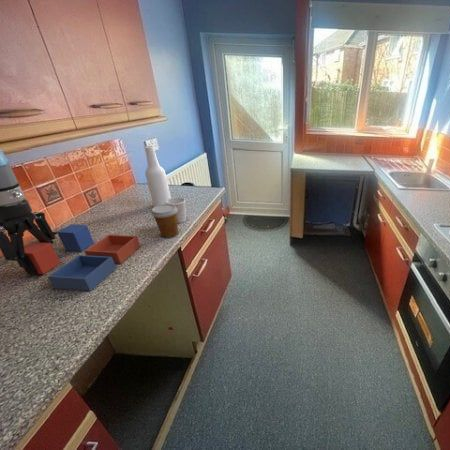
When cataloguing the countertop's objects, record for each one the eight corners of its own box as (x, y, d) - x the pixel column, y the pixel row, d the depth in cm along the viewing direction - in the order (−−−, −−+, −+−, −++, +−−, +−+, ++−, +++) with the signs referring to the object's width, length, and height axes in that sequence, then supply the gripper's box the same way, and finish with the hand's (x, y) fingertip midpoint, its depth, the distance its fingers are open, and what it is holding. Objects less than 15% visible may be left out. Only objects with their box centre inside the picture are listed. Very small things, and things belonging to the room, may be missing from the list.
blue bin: (54, 288, 75) (47, 276, 73) (84, 265, 85) (78, 254, 83) (90, 290, 75) (84, 279, 73) (116, 267, 85) (111, 256, 82)
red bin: (89, 261, 87) (84, 250, 85) (112, 244, 97) (108, 234, 95) (120, 263, 87) (116, 252, 84) (140, 246, 97) (137, 236, 94)
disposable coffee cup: (154, 232, 106) (147, 207, 100) (177, 226, 112) (172, 201, 106) (161, 242, 100) (154, 215, 94) (185, 234, 105) (180, 209, 100)
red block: (25, 272, 79) (12, 252, 76) (43, 261, 85) (32, 241, 81) (43, 274, 79) (32, 253, 75) (60, 262, 85) (50, 243, 81)
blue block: (65, 250, 92) (56, 232, 88) (79, 242, 97) (71, 224, 94) (81, 251, 92) (73, 233, 88) (94, 243, 97) (86, 225, 93)
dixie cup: (193, 218, 119) (189, 199, 114) (178, 225, 112) (173, 205, 107) (180, 214, 122) (176, 195, 117) (165, 221, 115) (160, 201, 110)
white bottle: (152, 204, 132) (137, 145, 118) (170, 201, 136) (158, 144, 122) (154, 210, 125) (139, 149, 111) (173, 206, 130) (161, 147, 116)
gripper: (-18, 217, 62) (24, 287, 73) (51, 191, 79) (78, 251, 90) (-48, 215, 63) (-1, 285, 73) (28, 190, 79) (57, 250, 90)
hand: (42, 266), depth 82 cm, fingers closed on red block, 6 cm apart
